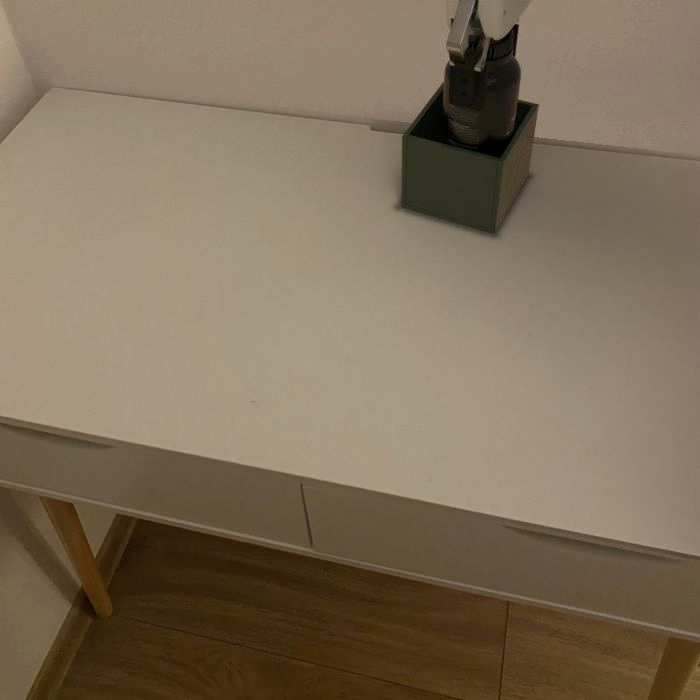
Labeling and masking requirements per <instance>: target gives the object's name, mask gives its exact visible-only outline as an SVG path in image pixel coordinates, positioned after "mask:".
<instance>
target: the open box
mask: <svg viewBox="0 0 700 700" xmlns="http://www.w3.org/2000/svg"><path fill="white" fill-rule="evenodd" d="M443 93H444V81H443V82H442V83H440V85H439V87H438V88H437V89H436V91H435V92H434V93H433V95H432V96H431V97H430V98H429V100H428V101H427V103H426V104H425V105H424V106H423V108H422V109H421V110H420V112H419V113H418V115H417V116H416V117H415V118H414V120H413V121H412V122H411V124H410V125H409V126H408V128H407V129H406V131H405V132H403V135H402V136H401V201H400V202H401V205H400V206H401V207H402V208H404V209H407V210H412V211H414V212H418V213H422V214H425V215H428V216H432V217H434V218H435V217H436V218H439V219H442V220H445V221H450V222H453V223H456V224H460V225H463V226H467V227H469V228H474V229H477V230H481V231H484V232H487V233H491V234H494V235H495V234H496V232H497V231H498V229H499V227H500V225H501V224H502V223H503V220H504V218H505V216H506V215H507V213H508V211H509V210H510V208H511V206H512V205H513V202H514V201H515V199H516V197H517V195H518V194H519V192H520V190H521V189H522V187H523V185H524V183H525V181H526V180H527V178H528V176H529V171H530V166H531V158H532V154H533V146H534V139H535V134H536V133H535V132H536V126H537V120H538V115H539V114H538V113H539V107H540V103H534V102H530V101H526V100H522V99H518V106H517V114H516V123H515V131H514V137H513V139H512V140H511V142H510V143H509V145H508V147H507V148H506V150H505V151H504V153H503V155H502V156H501V158H497V157H493V156H489V155H486V154H482V153H478V152H474V151H470V150H466V149H462V148H458V147H454V146H451V145H447V144H443V143H441V141H442V116H443Z"/></svg>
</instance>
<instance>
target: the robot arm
mask: <svg viewBox="0 0 700 700" xmlns="http://www.w3.org/2000/svg"><path fill="white" fill-rule="evenodd" d="M532 1H533V0H446V3H445V5H446V6H445V16H446V19H445V20H446V25H447V27H448V29H449V33H448V37H447V39H446V43H445V49H446V51H447V52H448V57H449V60H450V61H449V60H448V61H449V65H450V84H449V103H450V104H452V105H455V106H460V107H464V108H468V109H472V110H477V111H481V110H483V108H484V107H485V102H486V91H487V81H488V70H489V67H487V66H485V61H486V57H487V52H488V48H489V43H490V39H491V38H493V39H494V40H500V39H501V38H503V37H504V36H505V35H507V34H508V32H509V31H510V30H511V29H513V30H514V40H513V54H512V55H513V56H514V57H515V58H516V53H517V47H518V39H519V38H518V37H519V28H520V24H518V22H519V21H520V18H521V16H522V15H523V14H524V12H525V11H526V10H527V8H528V7H529V5H530V4H531V2H532ZM474 20H475V21H480V22H481V25H482V28H483V30H481V29H476V28H472V25H473V22H474ZM469 36H472V37H477V38H480V43H479V47H478V52H477V53H476V52H475V50H474V49H473V48H471V47H469V43H468V38H469Z"/></svg>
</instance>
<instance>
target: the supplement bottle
mask: <svg viewBox="0 0 700 700" xmlns="http://www.w3.org/2000/svg"><path fill="white" fill-rule="evenodd" d="M472 28H476V29H481V30H483V28H482V25H481V22H480V21H475V20H474V22H473V25H472ZM513 40H514V30H513V29H511V30H510V31H509V32H508V34H507V35H505V36H504V37H503V38H501V39H500V40H494V39H493V38H491V39H490V43H489V48H488V52H487V57H486V61H485V66H487V67H489V70H488V81H487V91H486V102H485V107H484V108H483V110H481V111H477V110H472V109H468V108H464V107H460V106H455V105H452V104H450V103H449V84H450V65H449V61H450V59H449V60H448V61H447V62H446V65H445V67H444V73H443V74H444V75H443V82H444V93H443V116H442V141H441V143H443V144H447V145H451V146H454V147H458V148H462V149H466V150H470V151H474V152H478V153H482V154H486V155H489V156H493V157H497V158H501V156H502V155H503V153H504V151H505V150H506V148H507V147H508V145H509V143H510V142H511V140H512V139H513V137H514V131H515V123H516V114H517V106H518V100H519V97H520V88H521V81H522V68H521V65H520V63H519V61H518V59H517V58H516V56H515V57H514V56H513V55H512V54H513ZM468 43H469V47H471V48H473V49H474V50H475V52H476V53H477V52H478V47H479V43H480V38H477V37H472V36H469V38H468Z"/></svg>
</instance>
